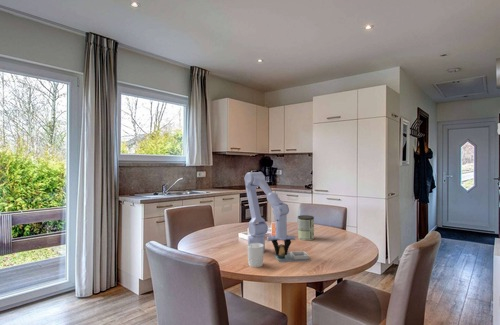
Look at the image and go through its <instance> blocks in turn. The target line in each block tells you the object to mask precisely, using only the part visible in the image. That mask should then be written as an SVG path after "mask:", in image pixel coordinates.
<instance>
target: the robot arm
mask: <svg viewBox="0 0 500 325" xmlns="http://www.w3.org/2000/svg"><path fill="white" fill-rule="evenodd" d="M243 181H244V185H245V191H246V197H247V201H248V206H249V212H250V218H251V219H250V220H249V222H248V233H249V235H248V236H247V245H248V244H251V243H260V244H263V245H264V252H265V251H266V241H267V242H271V243H272V245H273V248H274V251H275V253H276V255H278V245H279V242H280V241H283V242H284V244H283V245H285V255H287V253H289V252H288V251H289V248H290V246H291V244H292V241H296V235H290V234H288V231H287V229H288V228H287V226H288V225H287V224H288V222H287V221H288V220H287V216H288V214H289V213H290V207H289V205H288V204H287V203H285V202H283V201H282V200H281V199H280V197H279V195H278V193H277V192H273V191H272V189H271V188H270V186H269V184H268V182H267V180H266V176H265V174H264V173H263V172H262V171H258V172H257V171H256V172H250V171H249V172H246V174H245V175H244V178H243ZM259 187H260V189H261V190H262V191H263V192H264V194H265V195H266V200H267V202H268V203H269V205H270V206H271V208H272V213H273V215H274V220H275V223H274V226H275V235H271V236H270V235H269V236H266V235H267V233H268V231H269V227H268V224H267V223H266V220H265V218H264V217H262V215H261V209H260V204H259V198H258V193H257V188H259ZM278 241H279V242H278Z"/></svg>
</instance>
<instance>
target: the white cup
mask: <svg viewBox="0 0 500 325" xmlns="http://www.w3.org/2000/svg"><path fill="white" fill-rule="evenodd" d="M246 249H247V250H246V251H247V262H248V266H249V267H251V268H259V267H262V266H264V252H265V251H264V245H263V244H260V243H251V244H248V243H247V245H246Z"/></svg>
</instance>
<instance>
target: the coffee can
mask: <svg viewBox="0 0 500 325" xmlns="http://www.w3.org/2000/svg"><path fill="white" fill-rule="evenodd" d="M314 220H315V216H313V215H309V214H308V215H305V214H304V215H298V216H297V239H298V240H301V241H313V240H314V239H315V222H314Z"/></svg>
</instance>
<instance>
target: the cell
mask: <svg viewBox="0 0 500 325" xmlns="http://www.w3.org/2000/svg"><path fill="white" fill-rule="evenodd" d="M277 258H279V259H284V258H285V244H283V243H282V244H281V243H280V244H278V255H277Z"/></svg>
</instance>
